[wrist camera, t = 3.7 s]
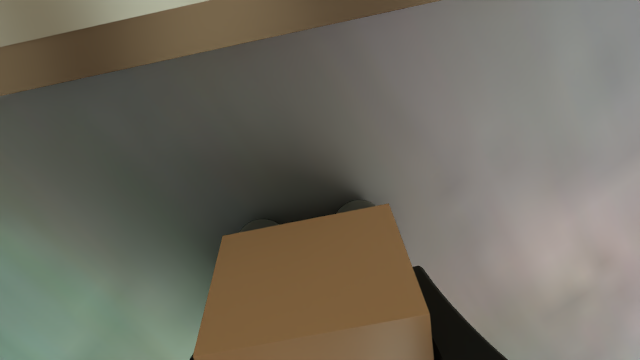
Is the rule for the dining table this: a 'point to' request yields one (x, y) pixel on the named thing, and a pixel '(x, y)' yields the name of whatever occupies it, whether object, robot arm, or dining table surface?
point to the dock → (147, 32)
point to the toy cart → (316, 292)
